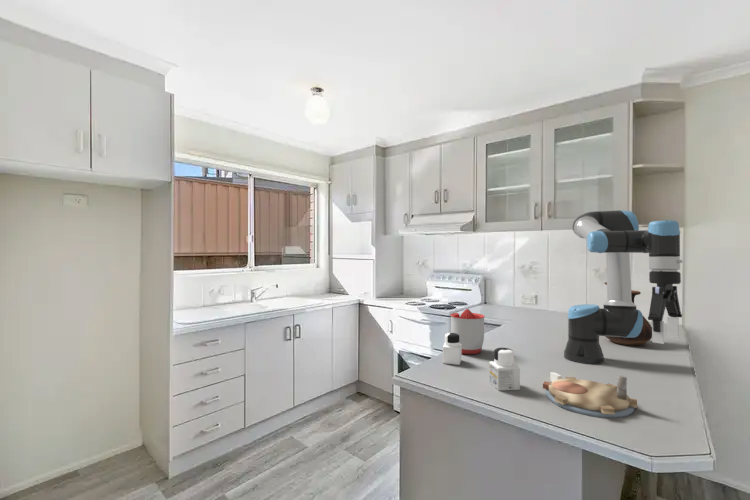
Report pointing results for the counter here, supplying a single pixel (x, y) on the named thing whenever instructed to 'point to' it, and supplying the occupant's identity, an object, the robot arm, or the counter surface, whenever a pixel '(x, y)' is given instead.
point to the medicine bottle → (452, 349)
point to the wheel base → (581, 410)
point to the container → (504, 370)
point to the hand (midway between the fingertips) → (666, 340)
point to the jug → (644, 334)
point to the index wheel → (591, 394)
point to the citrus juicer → (469, 331)
